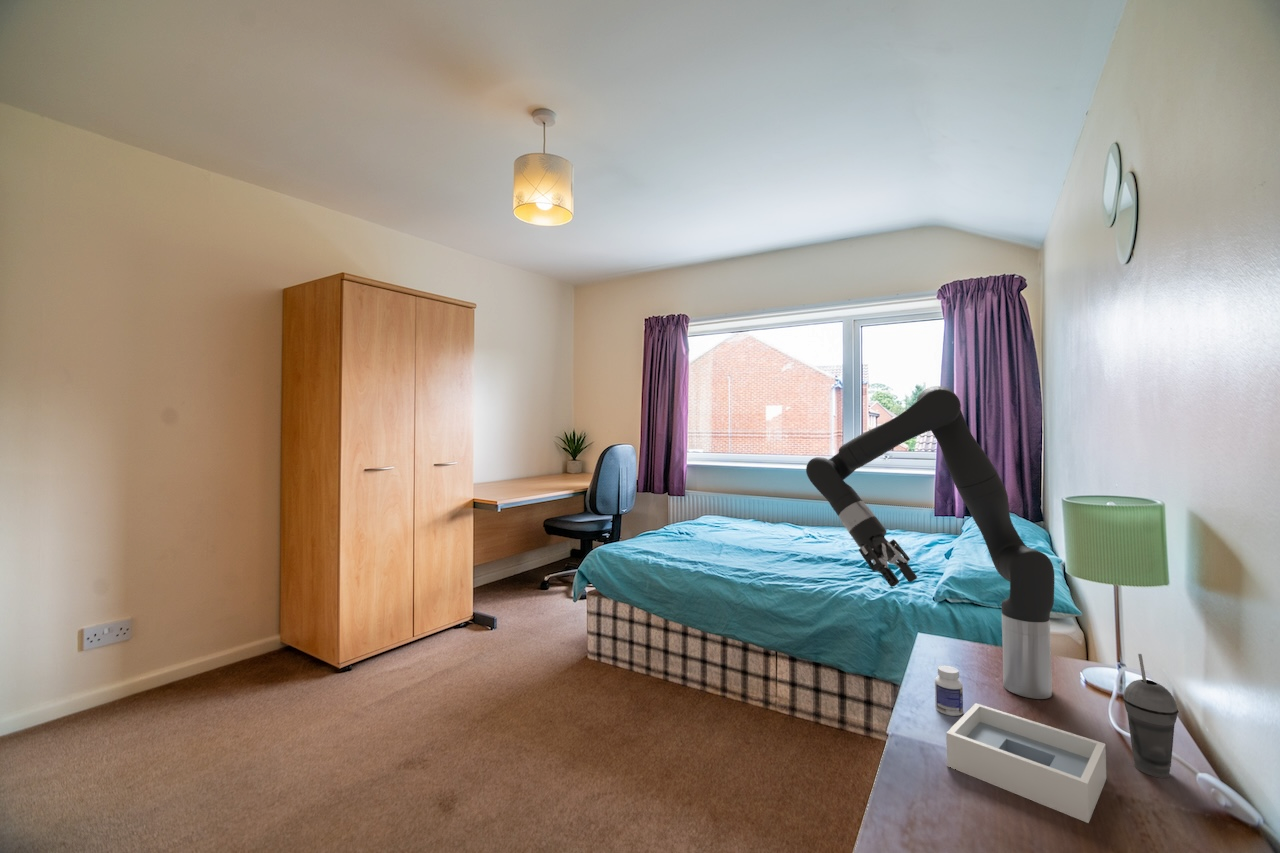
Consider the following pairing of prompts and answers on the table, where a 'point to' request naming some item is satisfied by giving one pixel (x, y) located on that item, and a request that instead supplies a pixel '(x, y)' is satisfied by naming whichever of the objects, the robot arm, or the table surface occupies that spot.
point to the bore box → (1029, 759)
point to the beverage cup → (1150, 724)
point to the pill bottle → (948, 691)
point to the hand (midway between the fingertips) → (904, 582)
